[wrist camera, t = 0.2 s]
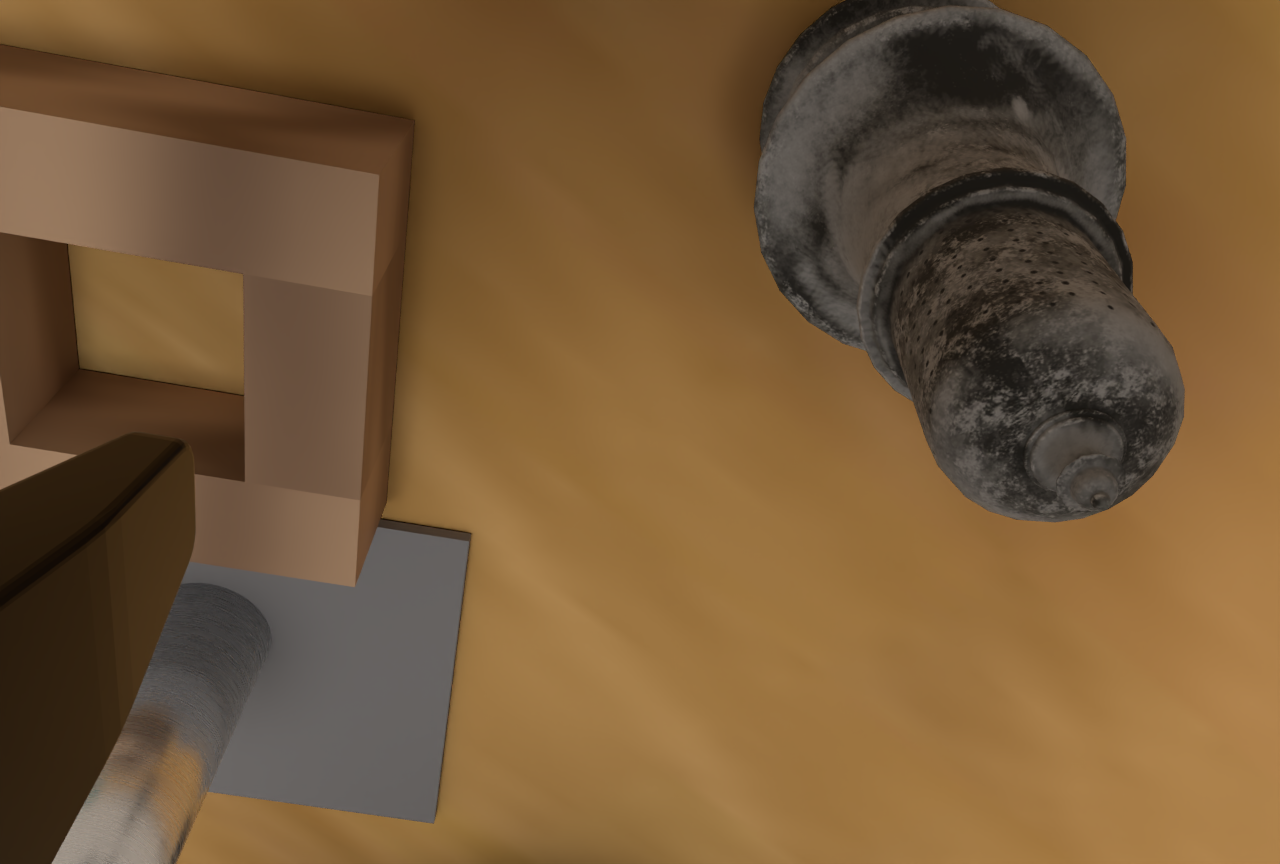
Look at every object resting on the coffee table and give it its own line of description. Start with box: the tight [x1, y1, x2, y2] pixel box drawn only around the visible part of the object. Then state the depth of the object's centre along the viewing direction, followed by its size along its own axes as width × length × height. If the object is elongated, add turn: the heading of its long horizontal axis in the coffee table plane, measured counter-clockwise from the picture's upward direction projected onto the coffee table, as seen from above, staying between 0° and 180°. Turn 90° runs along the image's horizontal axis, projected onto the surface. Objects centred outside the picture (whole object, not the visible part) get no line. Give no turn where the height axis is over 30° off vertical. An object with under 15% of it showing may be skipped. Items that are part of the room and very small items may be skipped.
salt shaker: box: [754, 0, 1185, 522], centre depth 16 cm, size 6×6×12 cm
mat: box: [181, 519, 471, 823], centre depth 29 cm, size 10×10×1 cm
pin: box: [52, 583, 272, 864], centre depth 24 cm, size 3×3×10 cm
